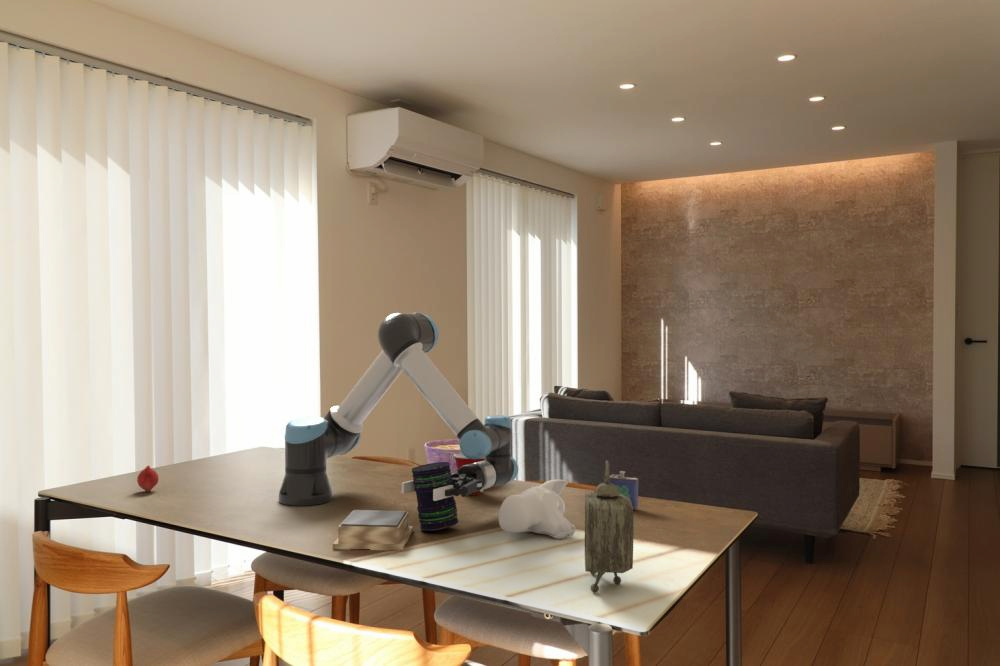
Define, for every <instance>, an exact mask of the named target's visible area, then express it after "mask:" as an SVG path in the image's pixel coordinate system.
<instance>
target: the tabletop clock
mask: <svg viewBox="0 0 1000 666" xmlns="http://www.w3.org/2000/svg"><path fill="white" fill-rule="evenodd" d="M604 465H605V469H604V470H605V471H604V481H603V482H601V483H600V484H597V486H596V487H595V489H594V492H585V494H584V495H585V499H584V500H585V501H584V502H585V504H584V569H585V572H588V573H589V574H591V575H595V574H597V575H596V579H595V583H592V585H590V591H591V592H593V593H594V594H595V593H597V592H599V589H600V586H599V585H598V584H599V582H600V580H601V578H602V577H603V575H605V573H608V574H609V573H610V574H611V573H613V574H614V577H613V580H612V582H613V584H614V585H617V586H618V585H621V582H622V578H621V576H618V574H624V573H626V572H628V571H630V570H631V569H632V570H633V568H634V567H633V566H634V529H635V527H634V524H635V523H634V522H635V521H634V518H635V517H634V511H633V506H632V503H631V500H630V498H628V497H626V496H624V495H623V494H620V492H619V489H618V488H617V487H616V486H615V485H614V484H612V483H610V476H611V475H610V461H609V460H607V459H606V460H605V463H604Z"/></svg>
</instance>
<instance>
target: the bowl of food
mask: <svg viewBox="0 0 1000 666" xmlns="http://www.w3.org/2000/svg"><path fill="white" fill-rule="evenodd" d="M459 443H460V440H459V439H440V440H439V439H438V440H432V441H428V442H425V444H424V450H425V455H426V460H427V464H431V463H438V462H449V464H450V470H451V472H450V473H451V474H452V473H457V472H458V470H457V465H456V460H455V457H454V455H455V454H462V452H461V450H460V445H459Z"/></svg>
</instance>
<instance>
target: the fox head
mask: <svg viewBox="0 0 1000 666" xmlns="http://www.w3.org/2000/svg"><path fill="white" fill-rule="evenodd" d="M568 484H569V482H568V480H565V479H550V480H547V481H545V482H544V483H541V485H534V486H532V487H528V488H526V489H524V490H523V491H522V492H520V493H518V494H511V495H509V496H507V497H505V499H504V500H503V502H502V503H501V505H500V508H499V512H498V524H499V527H500V528H501V529H502V530H503V531H505V532H508V533H534V534H538V535H539V534H540V535H548V536H550V537H552V538H554V539H556V540H561V539H564V538H565V537H572V536H573V535H575V533H576V526H575V525H574V524H572V522H570V521H569V520H568V519H567V518H566V517H565V516H564V513H565V510H566V505H565V504H566V503H565V501H564V500H563V498H562V497H561V493H562V492H563V491H564V490H565V487H567V485H568Z"/></svg>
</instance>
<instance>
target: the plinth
mask: <svg viewBox="0 0 1000 666" xmlns="http://www.w3.org/2000/svg"><path fill="white" fill-rule="evenodd" d="M409 515H410V514H409V511H407V510H386V509H385V510H383V509H382V510H379V509H377V510H376V509H375V510H374V509H373V510H372V509H354V510H351V512H350V513H349V515H347V516H346V517H345V519H344V520H342V522H341V523H340V524H339V525H338V527H337V528H338V530H337V531H338V533H337V536H338V537H337V539H335V541H334V542H333V543H332V550H350V549H370V550H369V551H390V550H402V551H403V550H404V548H405V546H406V545H407V542H408V541H409V539H410V537H411V536H410V535H412V534H413V532H414V526H413V525H412V526H411V525H409V518H410V517H409ZM411 533H412V534H411ZM405 544H406V545H405Z"/></svg>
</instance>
